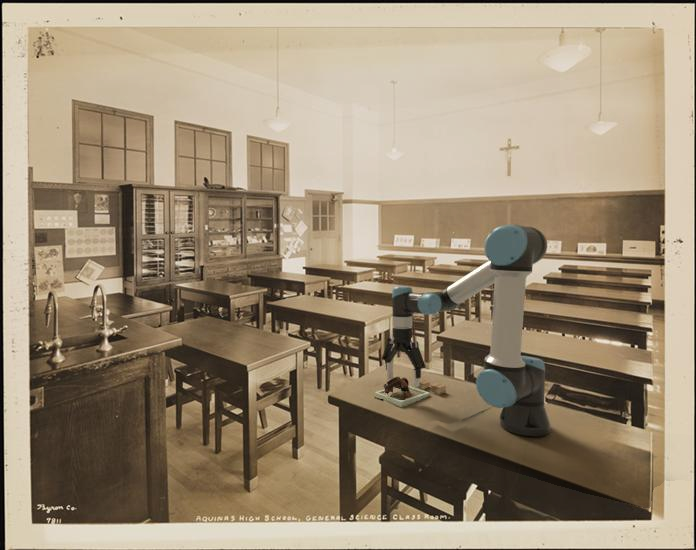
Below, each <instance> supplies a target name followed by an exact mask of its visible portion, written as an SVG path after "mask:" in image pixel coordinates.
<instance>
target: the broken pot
mask: <svg viewBox="0 0 696 550" xmlns="http://www.w3.org/2000/svg"><path fill="white" fill-rule="evenodd" d="M408 386H410V385H409V380H408V379H407V378H406V377H400V376H396V377H393V379H389V380H387V381H386V383H383V388H384V389H385V390H384V389H383V390H384V392H385V393H387V394H388V393H389V392H392V393H393V387H395V388H398V389H401V390H400V391H401V392H402V393H403V392H404V393H405V397H406V399H408V398H411V397H412V395H411V391H410V388H408Z"/></svg>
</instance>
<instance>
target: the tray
mask: <svg viewBox="0 0 696 550" xmlns="http://www.w3.org/2000/svg"><path fill="white" fill-rule="evenodd" d="M408 387H409V389H410V388H411V390H412V389H413V390H412V391H415V390H416V392H417V391H418V392H417V393H419V392H421V393H423V394H421V393H420V394H418V395H415V396H411V397H410V398H408V399H407V398H404V399H405V400H398V399H399V398H396V397H392V396H391V397H389V396H387V395H384V394H382V393H384V390H385V388H384V389H381V390H378V391H377V390H376V391H375V392H374V395H376V396H378V397H380V398H382V399H384V400H385V401H387V402H389V403H390V402H391V403H390V404H392V403H393V404H392V405H394V404H395V405H394V406H396V405H397V406H396V407H398V406H399V408H404V407H407V406H410V405H411V404H414V403H417V402H420V401H421V399H422V400H424V399H426V398H428V397H427V396H429V395H430V396H431V392H429V391H426V390H422V389H420V388H417V387H413V386H411V385H408ZM394 388H395V387H393V389H394ZM374 395H373V396H374ZM430 396H429V397H430ZM425 397H426V398H425ZM423 398H424V399H423ZM416 401H417V402H416ZM409 404H410V405H409Z"/></svg>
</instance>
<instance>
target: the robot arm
mask: <svg viewBox="0 0 696 550" xmlns="http://www.w3.org/2000/svg"><path fill="white" fill-rule="evenodd" d="M483 247H484V248H483V249H484V254H485V257H486V258H487V259H488V260H487V261H486V262H484V263H483V264H481V265H479V266H477V267H476V268H475V269H474V270H472V271H470V272H469V273H467V274H465V275H464V276H463V277H461V278H460V279H458V280H457V281H455V282H454V283H451V284H450V285H449V286H447V287H445V288H444V289H443V290H441V291H433V292H432V291H431V292H414V291H413V288H412V286H405V285H403V286H394V287H393V289H392V293H391V294H392V295H391V301H392V305H391V306H392V308H391V309H392V327H393V328H392V337H388V338H387V341H386V346H385V348H384V350H383V352H382V356H381V360H382V361H384V362H385V371H386V380H387V381H389V380H391V379H393V378H394V362H393V359H395V357H396V355H397V354H398V352H401V353H404V354H405V355H406V356H407V358H408V359H409V361H410V362H411V364H412V366H413V369H412V377H413V378H412V382H413V384H412V387H413V388H417V387H418V386H420V380H421V378H422V369H426V363H425V360H424V358H423V356H422V353H421V350H420V346H419V342H418V341H412V338H413V328H412V327H413V314H421V315H426V316H429V315H430V316H431V315H432V316H433V315H437V314H438V313H439V312H440V313H441V312H451V311H453V310H457V309H458V307H459V306H460V304H461V303H463V302H465V301H467V300H468V299H470V298H472V297H473V296H475V295H477V294H478V293H480V292H481V291H484V290H485V289H487V288H489V287H490V286H493V285H494V289H493V304H492V320H491V322H492V323H491V336H490V349H489V350H490V351H489V354H488V355H486V356H485V357H484V362H483V363H484V364H483V370H482V371H481V372H480V373H479V374H478V375H477V377H476V379H475V385H476V390H477V393H478V395H479V397H481V398H482V400H483V401H484V402H485V403H486V404H488V405H489V406H491V407H493V408H495V409H496V408H497V409H501V412H500V413H499V425H500V426H501V428H502V429H504V430H505V431H506V432H507V431H508V432H511V433H513V434H516V435H520V436H525V437H526V436H527V437H542V436H547V435H548V434H550V431H551V422H550V419H549V416H548V413H547V409H546V406H545V390H546V389H545V387H546V384H545V383H546V382H545V381H546V367H545V362H544V361H543V359H541V358H537V357H532V356H527V355H521V354H522V353H521V352H522V340H523V327H524V326H523V325H524V315H525V314H524V311H525V300H526V299H525V296H526V285H527V284H526V283H527V277H528V276H530V275H531V274H532V273H533V265H535V264H536V263H539V262H540V261H541V260H542V259H543V258H544V257H545V255H546V253H547V249H548V240H547V238H546V236H545V235H544V233H543V232H542V231H541V230H539V229H538V228H535V227H532V226H524V225H518V224H506V225H500V226H498V227H495V228H494V229H493V230H492V231H490V232H489V234H488V236H487V237H486V239H485V242H484V246H483Z"/></svg>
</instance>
